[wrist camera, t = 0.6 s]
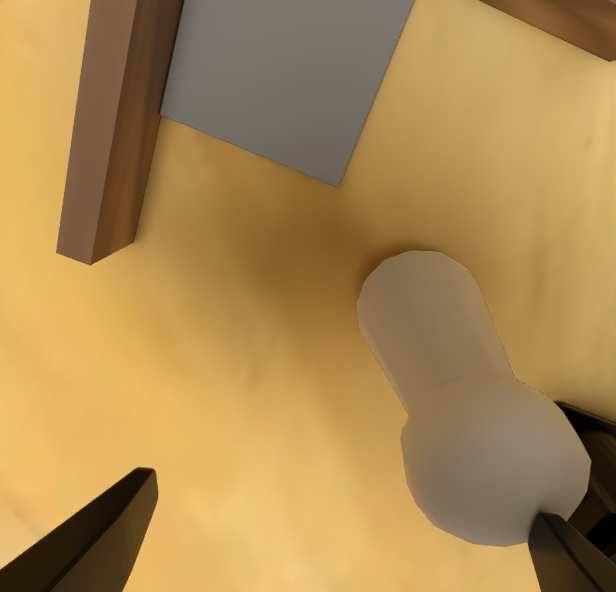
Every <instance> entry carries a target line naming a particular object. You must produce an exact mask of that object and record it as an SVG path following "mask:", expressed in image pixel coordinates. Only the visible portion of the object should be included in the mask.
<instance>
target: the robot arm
mask: <svg viewBox="0 0 616 592" xmlns="http://www.w3.org/2000/svg"><path fill="white" fill-rule="evenodd" d="M556 405H557V406H558V407H559V408H560V409H561V410H562V411H563V412H564V414H565V416H566V417H567V419H568V421H569V422H570V424H571V425H572V427H573V429H574V430H575V432H576V433H577V435H578V437H579V438H580V440H581V442H582V444H583V446H584V448H585V450H586V451H587V453H588V455H589V457H590V459H591V466H590V474H589V482H588V490H587V492H586V494H585V496H584V498H583V499H582V501H581V503H580V504H579V506H578V507H577V508H576V510H575V511H574V512H573V514H572V515H571V516H570V518H569V519H568V520H567V521H566V520H564V519H563V518H562V517H561V516H559V515H558V514H554V513H545V512H539V513H538V514H537V515H536V517H535V520H534V522H533V525H532V528H531V530H530V533H529V536H528V546H529V551H530V554H531V558H532V561H533V565H534V568H535V572H536V575H537V579H538V582H539V586H540V589H541V592H616V423H614V422H612V421H609V420H606V419H604V418H601V417H599V416H596V415H593V414H591V413H588V412H585V411H583V410H580V409H578V408H575V407H572V406H570V405H567V404H564V403H557V404H556ZM157 500H158V486H157V476H156V471H155V470H154V469H153V468H145V467H138V468H136V469H134V470H133V471H131V472H130V473H129V474H127V475H126V476H125V477H123V478H122V479H121V480H119V481H118V482H117V483H115V484H114V485H113V486H111V487H110V488H109V489H107V490H106V491H105V492H103V493H102V494H101V495H99V496H98V497H97V498H95V499H94V500H93V501H91V502H90V503H89V504H87V505H86V506H85V507H83V508H82V509H81V510H79V511H78V512H77V513H75V514H74V515H73V516H71V517H70V518H69V519H67V520H66V521H65V522H63V523H62V524H61V525H59V526H58V527H57V528H55V529H54V530H53V531H51V532H50V533H48V534H47V535H46V536H44V537H43V538H42V539H40V540H39V541H38V542H36V543H35V544H34V545H33V546H31V547H30V548H29V549H27V550H26V551H24V552H23V553H22V554H21V555H19V556H18V557H17V558H15V559H14V560H12V561H11V562H10V563H8V564H7V565H6V566H4V567H3V568H2V569H0V592H122V591H123V589H124V587H125V585H126V583H127V580H128V578H129V576H130V574H131V571H132V569H133V566H134V564H135V561H136V559H137V556H138V553H139V550H140V548H141V545H142V542H143V540H144V537H145V534H146V531H147V529H148V526H149V523H150V520H151V518H152V515H153V512H154V510H155V507H156V504H157Z"/></svg>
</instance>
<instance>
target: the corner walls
mask: <svg viewBox="0 0 616 592" xmlns="http://www.w3.org/2000/svg"><path fill="white" fill-rule="evenodd" d="M480 1H482V2H484V3H486V4H489V5H491V6H493V7H495V8H497V9H499V10H501V11H503V12H506V13H508V14H510V15H512V16H514V17H516V18H518V19H520V20H522V21H525V22H527V23H529V24H531V25H533V26H535V27H537V28H539V29H542V30H544V31H546V32H548V33H550V34H552V35H554V36H556V37H558V38H561V39H563V40H565V41H567V42H569V43H571V44H573V45H575V46H578V47H580V48H582V49H584V50H586V51H588V52H590V53H592V54H594V55H597V56H599V57H601V58H603V59H605V60H607V61H609V62H610V61H614V60H616V0H480ZM183 5H184V0H91V3H90V10H89V18H88V25H87V32H86V39H85V47H84V54H83V61H82V68H81V76H80V83H79V90H78V98H77V105H76V112H75V119H74V127H73V134H72V141H71V148H70V156H69V163H68V170H67V177H66V185H65V192H64V199H63V206H62V214H61V221H60V228H59V235H58V243H57V250H56V253H58V254H61V255H64V256H66V257H69V258H72V259H74V260H77V261H80V262H82V263H85V264H88V265H92V264H94V263H96V262H97V261H99V260H101V259H103V258H105V257H107V256H109V255H111V254H112V253H114V252H116V251H118V250H120V249H122V248H124V247H126V246H127V245H129V244H131V243H133V242H134V237H135V233H136V228H137V224H138V219H139V214H140V210H141V205H142V201H143V196H144V191H145V187H146V182H147V178H148V173H149V168H150V164H151V159H152V155H153V150H154V145H155V141H156V136H157V132H158V127H159V122H160V118H161V115H160V112H161V107H162V102H163V98H164V93H165V88H166V84H167V79H168V75H169V70H170V65H171V61H172V56H173V51H174V47H175V42H176V37H177V33H178V28H179V24H180V19H181V14H182V10H183Z"/></svg>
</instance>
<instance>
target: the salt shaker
mask: <svg viewBox="0 0 616 592" xmlns="http://www.w3.org/2000/svg"><path fill="white" fill-rule="evenodd" d="M356 311H357V317H358V324H359V330H360V332H361V334H362V336H363V337H364V339H365V341H366V342H367V344H368V346H369V347H370V349H371V351H372V353H373V354H374V356H375V358H376V359H377V361H378V363H379V364H380V366H381V368H382V370H383V371H384V373H385V375H386V376H387V378H388V380H389V381H390V383H391V385H392V387H393V388H394V390H395V392H396V393H397V395H398V397H399V398H400V400H401V402H402V404H403V406H404V407H405V409H406V411H407V413H408V415H409V417H408V419H407V422H406V424H405V426H404V428H403V430H402V434H401V445H402V452H403V460H404V467H405V473H406V480H407V484H408V486H409V489H410V491H411V493H412V496H413V498H414V500H415V502H416V504H417V505H418V507H419V508H420V509H421V510H422V512H423V513H424V514H425V515H426V517H427V518H428V519H429V520H430V521H431V523H432V524H433V525H434V526H435V527H437V528H439V529H441V530H443V531H445V532H447V533H450V534H452V535H454V536H456V537H459V538H461V539H463V540H465V541H468V542H470V543H472V544H478V545H489V546H499V547H507V546H512V545H516V544H521V543H525V542H528V536H529V533H530V530H531V528H532V525H533V522H534V520H535V517H536V515H537V514H538V513H539V512H545V513H554V514H558V515H559V516H561V517H562V518H563V519H564V520H566V521H567V520H568V519H569V518H570V516H571V515H572V514H573V512H574V511H575V510H576V508H577V507H578V506H579V504H580V503H581V501H582V499H583V498H584V496H585V494H586V492H587V490H588V482H589V474H590V466H591V459H590V457H589V455H588V453H587V451H586V450H585V448H584V446H583V444H582V442H581V440H580V438H579V437H578V435H577V433H576V432H575V430H574V429H573V427H572V425H571V424H570V422H569V421H568V419H567V417H566V416H565V414H564V412H563V411H562V410H561V409H560V408H559V407H558V406H557V405H556V404H555V403H554V402H553V401H552V400H551V399H550V398H549V397H548V396H546V395H544V394H543V393H541V392H539V391H537V390H535V389H533V388H532V387H530V386H528V385H526V384H524V383H522V382H521V381H519V380H517V379H515V377H514V374H513V371H512V369H511V366H510V364H509V361H508V359H507V356H506V354H505V351H504V348H503V346H502V343H501V341H500V338H499V336H498V333H497V330H496V328H495V325H494V323H493V320H492V318H491V315H490V312H489V310H488V307H487V305H486V302H485V300H484V297H483V294H482V292H481V289H480V288H479V286H478V284H477V283H476V281H475V280H474V278H473V277H472V275H471V274H470V272H469V271H468V269H467V267H465V266H464V265H462V264H460V263H459V262H457V261H455V260H454V259H452V258H450V257H449V256H447V255H445V254H444V253H442V252H439V251H416V250H410V251H407V252H404V253H402V254H399V255H396V256H393V257H390V258H388V259H385V260H383V262H382V263H381V264H380V265H379V266H378V267H377V268H376V269H375V270H374V271H373V272H372V273H371V274H370V275H369V276H368V277H367V278H366V279H365V281H364V284H363V286H362V289H361V292H360V295H359V297H358V300H357V303H356Z"/></svg>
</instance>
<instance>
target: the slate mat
mask: <svg viewBox="0 0 616 592" xmlns="http://www.w3.org/2000/svg"><path fill="white" fill-rule="evenodd" d="M413 2H414V0H184V5H183V10H182V14H181V19H180V24H179V28H178V33H177V37H176V42H175V47H174V51H173V56H172V61H171V65H170V70H169V75H168V79H167V84H166V88H165V93H164V98H163V102H162V107H161V112H160V115H162V116H165V117H167V118H170V119H172V120H175V121H177V122H179V123H182V124H184V125H187V126H189V127H192V128H194V129H196V130H199V131H201V132H204V133H206V134H209V135H211V136H213V137H216V138H218V139H221V140H223V141H226V142H228V143H230V144H233V145H235V146H238V147H240V148H243V149H245V150H247V151H250V152H252V153H255V154H257V155H260V156H262V157H264V158H267V159H269V160H272V161H274V162H277V163H279V164H281V165H284V166H286V167H289V168H291V169H294V170H296V171H298V172H301V173H303V174H306V175H308V176H311V177H313V178H315V179H318V180H320V181H323V182H325V183H328V184H330V185H332V186H335V187H337V188H338V186H339V184H340V181H341V179H342V176H343V174H344V171H345V169H346V166H347V164H348V162H349V159H350V157H351V154H352V152H353V149H354V147H355V144H356V142H357V139H358V137H359V135H360V132H361V130H362V127H363V125H364V122H365V120H366V117H367V115H368V113H369V110H370V108H371V105H372V103H373V100H374V98H375V95H376V93H377V90H378V88H379V86H380V83H381V81H382V78H383V76H384V73H385V71H386V68H387V66H388V63H389V61H390V59H391V56H392V54H393V51H394V49H395V46H396V44H397V41H398V39H399V37H400V34H401V32H402V29H403V27H404V24H405V22H406V19H407V17H408V14H409V12H410V10H411V7H412V5H413Z"/></svg>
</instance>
